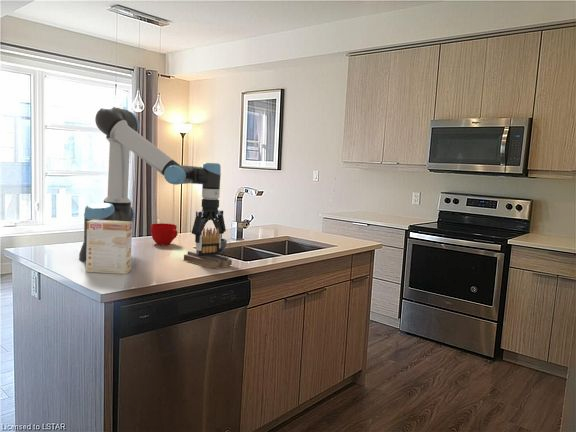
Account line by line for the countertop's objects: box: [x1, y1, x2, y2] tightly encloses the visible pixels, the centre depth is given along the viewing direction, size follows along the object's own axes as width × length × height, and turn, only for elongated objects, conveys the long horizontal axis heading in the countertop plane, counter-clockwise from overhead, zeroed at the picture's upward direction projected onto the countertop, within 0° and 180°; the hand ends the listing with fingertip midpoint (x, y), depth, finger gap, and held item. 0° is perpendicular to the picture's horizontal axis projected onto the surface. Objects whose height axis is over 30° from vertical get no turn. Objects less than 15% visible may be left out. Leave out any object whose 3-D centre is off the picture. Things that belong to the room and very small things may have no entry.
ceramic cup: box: [150, 222, 178, 246], centre depth 240 cm, size 13×17×10 cm
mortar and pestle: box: [208, 229, 228, 256], centre depth 225 cm, size 11×9×12 cm
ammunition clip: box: [196, 227, 219, 256], centre depth 203 cm, size 11×2×12 cm, turn 133°
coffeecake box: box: [85, 219, 133, 275], centre depth 177 cm, size 15×7×20 cm, turn 92°
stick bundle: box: [183, 250, 233, 270], centre depth 204 cm, size 10×20×4 cm, turn 51°
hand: (208, 249), depth 203 cm, fingers closed on ammunition clip, 10 cm apart
